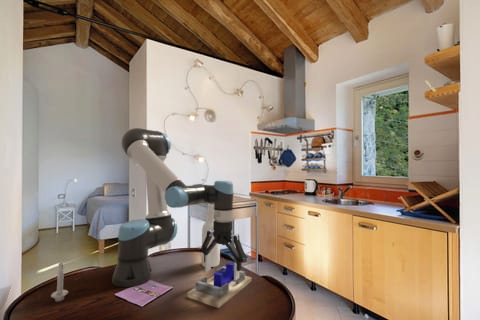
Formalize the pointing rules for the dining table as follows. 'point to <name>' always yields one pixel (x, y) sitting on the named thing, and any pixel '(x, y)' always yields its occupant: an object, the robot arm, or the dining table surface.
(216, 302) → the board
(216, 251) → the alcohol
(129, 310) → the dining table surface
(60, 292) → the screw
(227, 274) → the cable clip
